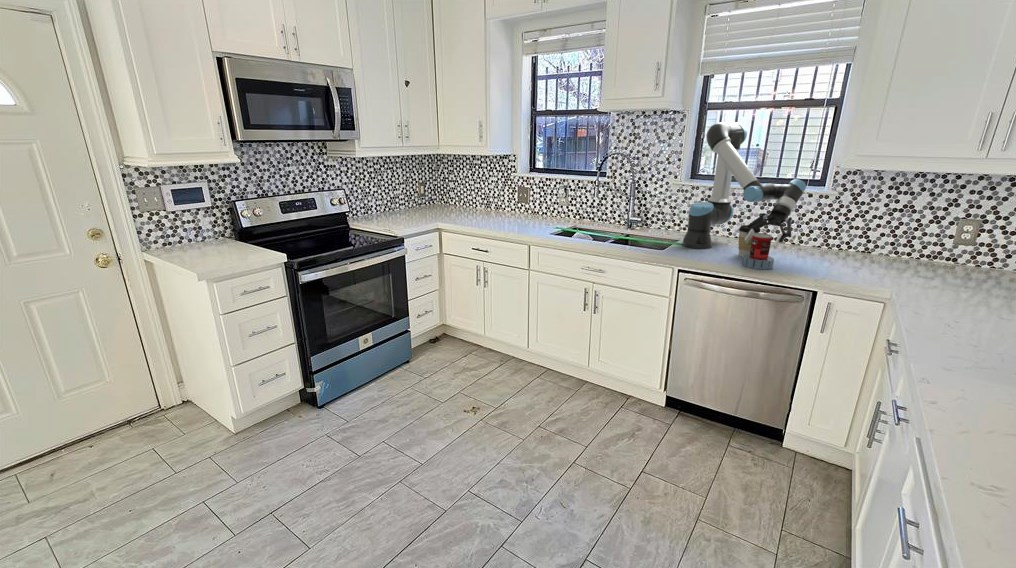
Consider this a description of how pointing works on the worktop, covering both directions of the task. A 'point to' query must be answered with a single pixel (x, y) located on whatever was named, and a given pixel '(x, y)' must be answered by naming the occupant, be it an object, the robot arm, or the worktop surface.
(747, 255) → the grey notched ring
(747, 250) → the coffee cup
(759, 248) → the canned food
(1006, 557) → the worktop surface
